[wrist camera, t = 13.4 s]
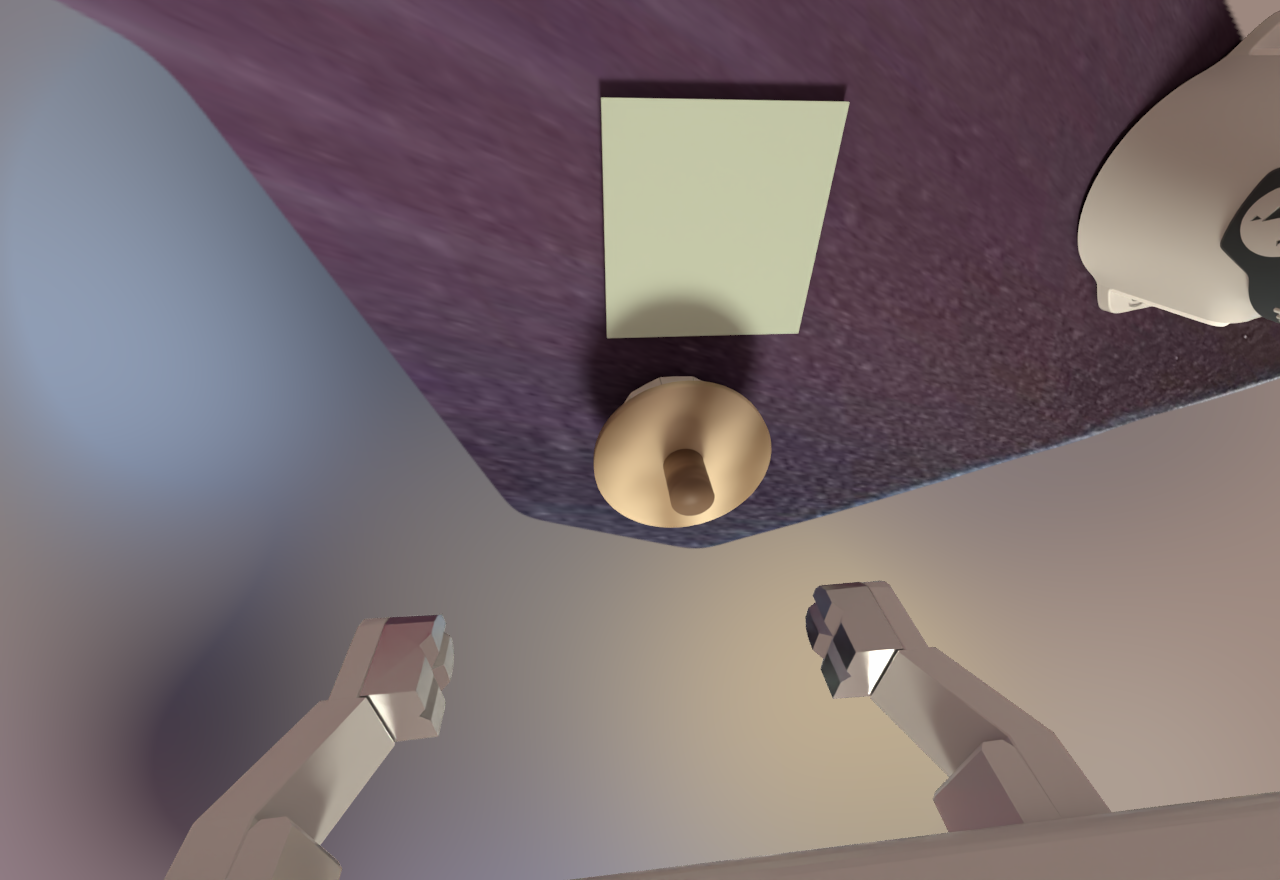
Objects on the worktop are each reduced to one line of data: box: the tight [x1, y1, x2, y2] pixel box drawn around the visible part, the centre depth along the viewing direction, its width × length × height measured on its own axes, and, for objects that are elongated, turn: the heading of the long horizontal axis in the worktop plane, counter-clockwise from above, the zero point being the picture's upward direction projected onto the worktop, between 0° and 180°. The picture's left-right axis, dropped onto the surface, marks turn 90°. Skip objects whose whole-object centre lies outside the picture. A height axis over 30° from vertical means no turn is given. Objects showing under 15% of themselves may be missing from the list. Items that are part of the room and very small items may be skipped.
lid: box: [594, 380, 771, 527], centre depth 38 cm, size 14×14×5 cm
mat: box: [601, 97, 849, 338], centre depth 34 cm, size 15×15×1 cm
